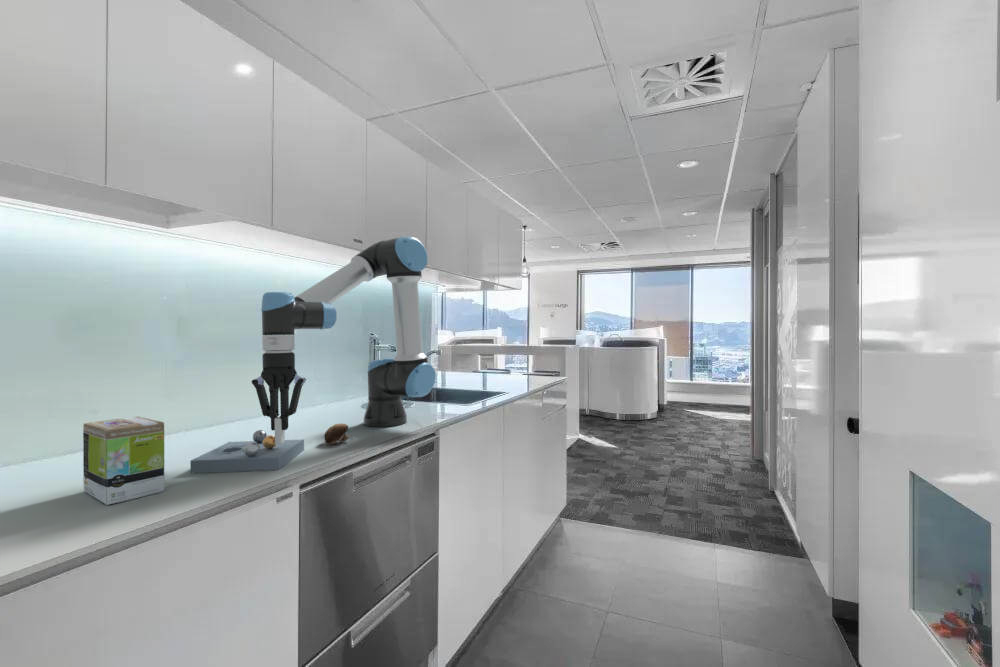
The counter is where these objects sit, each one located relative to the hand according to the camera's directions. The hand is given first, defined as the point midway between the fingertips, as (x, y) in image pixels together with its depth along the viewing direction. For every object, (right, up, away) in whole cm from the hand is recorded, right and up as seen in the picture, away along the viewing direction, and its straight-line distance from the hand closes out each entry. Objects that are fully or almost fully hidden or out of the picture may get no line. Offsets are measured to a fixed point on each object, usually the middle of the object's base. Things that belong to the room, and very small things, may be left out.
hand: (279, 442), depth 116 cm
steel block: (-9, 0, +6) cm, 11 cm away
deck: (-7, -5, -1) cm, 8 cm away
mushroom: (+8, -5, +17) cm, 20 cm away
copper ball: (-2, 0, 0) cm, 3 cm away
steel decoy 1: (-3, 0, -7) cm, 8 cm away
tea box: (-22, -5, -22) cm, 31 cm away
